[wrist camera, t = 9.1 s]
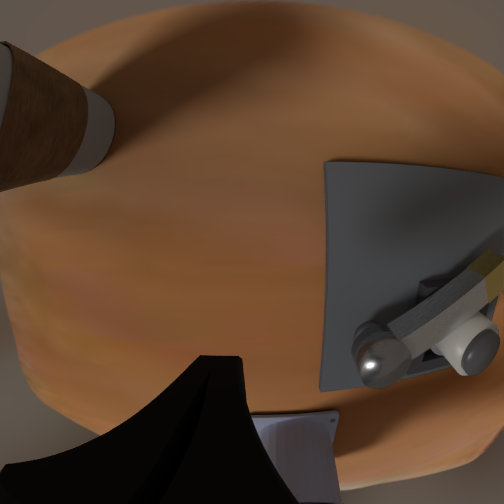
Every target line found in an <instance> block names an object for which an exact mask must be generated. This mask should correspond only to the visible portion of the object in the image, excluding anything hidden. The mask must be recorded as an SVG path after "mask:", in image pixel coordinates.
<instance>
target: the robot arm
mask: <svg viewBox="0 0 504 504" xmlns="http://www.w3.org/2000/svg"><path fill="white" fill-rule="evenodd" d="M338 420H339V412H338V411H336V410H333V411H324V412H313V413H301V414H283V415H250V412H249V409H248V405H247V402H246V391H245V381H244V372H243V362H242V359H241V358H240V357H239V356H207V355H200V356H199V357H198V358H197V359H196V360H195V361H194V362H193V363H192V364H191V365H190V366H189V367H188V368H187V369H186V370H185V371H184V372H183V373H182V374H181V375H180V376H179V377H178V378H177V379H176V380H175V381H174V382H173V383H171V384H170V385H169V386H168V387H167V388H166V389H165V390H164V391H163V392H162V393H161V394H160V395H158V396H157V397H156V398H155V399H154V400H153V401H151V402H150V403H149V404H148V405H146V406H145V407H144V408H143V409H141V410H140V411H139V412H138V413H136V414H135V415H134V416H132V417H131V418H129V419H128V420H126V421H125V422H123V423H122V424H120V425H118V426H117V427H115V428H114V429H112V430H110V431H109V432H107V433H105V434H103V435H101V436H99V437H97V438H95V439H93V440H91V441H89V442H87V443H84V444H82V445H81V446H78V447H76V448H73V449H70V450H67V451H65V452H62V453H59V454H56V455H52V456H49V457H45V458H41V459H37V460H32V461H26V462H20V463H13V464H6V465H5V466H4V468H3V469H2V470H1V472H0V504H344V503H342V500H341V494H340V488H339V482H338V476H337V470H336V464H335V458H334V453H333V447H332V445H333V441H334V437H335V433H336V429H337V424H338Z"/></svg>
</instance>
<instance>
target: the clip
mask: <svg viewBox="0 0 504 504" xmlns="http://www.w3.org/2000/svg"><path fill="white" fill-rule="evenodd" d="M503 290H504V256H503V255H500V254H498V253H496V252H493V251H491V250H487V251H486V252H485V253H483V254H482V255H481V256H480V257H479V258H477V259H476V260H475V261H474V262H473V263H471V264H470V265H469V266H468V267H467V269H466V270H464V271H463V272H462V273H461V274H459V275H458V276H457V277H455V278H454V279H453V280H452V281H450V282H449V283H448V284H446V285H445V286H444V287H442V288H441V289H439V290H438V291H437V292H435V293H434V294H432V295H431V296H430V297H428V298H427V299H425V300H424V301H422V302H421V303H420V304H418V305H417V306H415V307H414V308H412V309H411V310H409V311H407V312H406V313H404V314H403V315H401V316H400V317H398V318H396V319H395V320H393V321H392V322H390V323H388V324H387V325H386V324H376V325H372V326H370V327H368V328H366V329H365V330H363V331H362V332H361V333H360V334H359V335H358V336H357V337H356V338H355V340H354V342H353V344H352V347H351V355H352V358H353V360H354V363H355V365H356V367H357V370H358V372H359V375H360V377H361V379H362V382H363V383H364V384H365V385H366V386H367V387H369V388H373V389H380V388H385V387H388V386H390V385H392V384H394V383H396V382H397V381H399V380H400V379H401V378H402V377H403V376H404V375H405V374H406V372H407V371H408V369H409V367H410V365H411V361H412V360H413V359H414V358H416V357H417V356H419V355H420V354H422V353H423V352H425V351H426V350H428V349H429V348H431V347H432V346H434V345H435V344H437V343H438V342H439V341H441V340H442V339H444V338H445V337H446V336H448V335H449V334H450V333H452V332H453V331H454V330H456V329H457V328H458V327H460V326H461V325H462V324H463V323H465V322H466V321H467V320H468V319H470V318H471V317H472V316H473V315H475V314H476V313H477V312H478V311H479V310H480V309H482V308H483V307H484V306H485V305H486V304H487V303H490V302H491V301H492V300H493V299H494V298H495V297H496V296H497V295H499V294H500V293H501V292H502V291H503Z"/></svg>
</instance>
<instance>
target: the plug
mask: <svg viewBox="0 0 504 504" xmlns="http://www.w3.org/2000/svg"><path fill="white" fill-rule="evenodd" d="M499 344H500V337H499V330H498V327H497V325H496V324H494V323H493V322H492V321H491V320H489V319H488V318H487V317H485V316H484V315H483V314H482V313H480V312H479V311H478V312H477V313H476V314H475V315H473V316H472V317H471V318H470V319H468V320H467V321H466V322H465V323H463V324H462V325H461V326H460V327H458V328H457V329H456V330H454V331H453V332H452V333H450V334H449V335H448V336H446V337H445V338H444V339H442V340H441V341H439V342H438V343H437V344H435V345H434V346H432V347H431V348H430V349H431V350H432V351H433V352H434V353H435V354H437V355H441V356H444V357H445V358H446V359H447V360H448V361H449V363H450V364H451V365H452V366H453V367H454V369H455V370H456V371H457V372H458V373H459V374H460V375H462V376H467V375H469V376H474V375H477V374H479V373H480V372H482V371H483V370H484V369H485V368H486V367H487V366H488V365H489V364H490V363H491V361H492V360H493V359H494V357H495V355H496V353H497V351H498V348H499Z"/></svg>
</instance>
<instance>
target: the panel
mask: <svg viewBox="0 0 504 504" xmlns="http://www.w3.org/2000/svg"><path fill="white" fill-rule="evenodd" d="M324 180H325V207H326V283H325V310H324V329H323V344H322V357H321V368H320V379H319V389H320V392H326V391H336V390H344V389H351V388H358V387H365V386H366V385H365V384H364V383H363V382H362V379H361V377H360V375H359V372H358V370H357V367H356V365H355V363H354V360H353V358H352V355H351V347H352V344H353V342H354V340H355V338H356V337H357V336H358V335H359V334H360V333H361V332H362V331H363V330H365V329H366V328H368V327H370V326H372V325H376V324H386V325H387V324H388V323H390V322H392V321H393V320H395V319H396V318H398V317H400V316H401V315H403V314H404V313H406V312H407V311H409V310H411V309H412V308H414V307H415V306H417V305H418V304H420V303H421V302H422V301H424V300H425V299H427V298H428V297H430V296H431V295H432V294H434V293H435V292H437V291H438V290H439V289H441V288H442V287H444V286H445V285H446V284H448V283H449V282H450V281H452V280H453V279H454V278H455V277H457V276H458V275H459V274H461V273H462V272H463V271H464V270H466V269H467V267H468V266H469V265H470V264H471V263H473V262H474V261H475V260H476V259H477V258H479V257H480V256H481V255H482V254H483V253H485V252H486V251H487V250H491V251H493V252H496V253H498V254H500V255H503V256H504V177H499V176H494V175H488V174H482V173H475V172H469V171H462V170H454V169H446V168H437V167H427V166H416V165H403V164H387V163H365V162H324ZM497 298H498V295H497V296H496V297H495V298H494V299H493V300H492V301H491V302H490V303H487V304H486V305H485V306H484V307H483V308H482V309H480V310H479V312H480V313H482V314H483V315H484V316H485V317H487V318H488V319H489V320H491V321H492V318H493V314H494V310H495V306H496V302H497ZM449 367H453V366H452V365H451V364H450V363H449V361H448V360H447V359H446V358H445V357H444V356H441V355H437V354H435V353H434V352H433V351H432V350H431V349H430V348H429V349H428V350H426V351H425V352H423V353H422V354H420V355H419V356H417V357H416V358H414V359H413V360H412V361H411V365H410V367H409V369H408V371H407V372H406V374H405V375H404V376H403V377H402V378H401V379H400V380H403V379H407V378H412V377H416V376H420V375H424V374H428V373H432V372H435V371H439V370H443V369H446V368H449Z"/></svg>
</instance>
